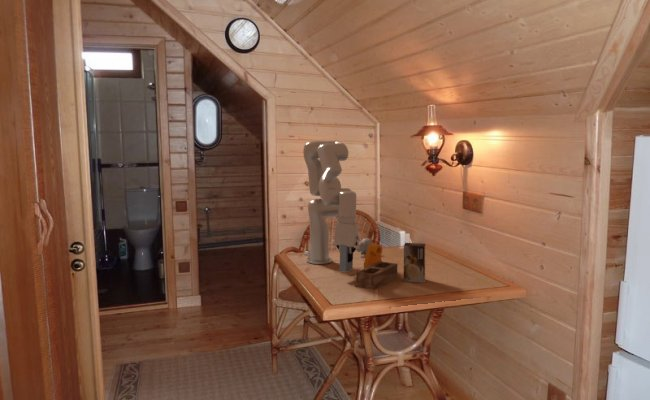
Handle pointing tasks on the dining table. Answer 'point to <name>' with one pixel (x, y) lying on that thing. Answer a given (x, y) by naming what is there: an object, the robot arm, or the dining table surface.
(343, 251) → the blue gray rectangular block
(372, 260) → the orange irregular piece
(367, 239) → the round bodied animal figurine
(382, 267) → the wooden compartment box
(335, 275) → the dining table surface
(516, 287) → the dining table surface
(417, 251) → the coffee box
